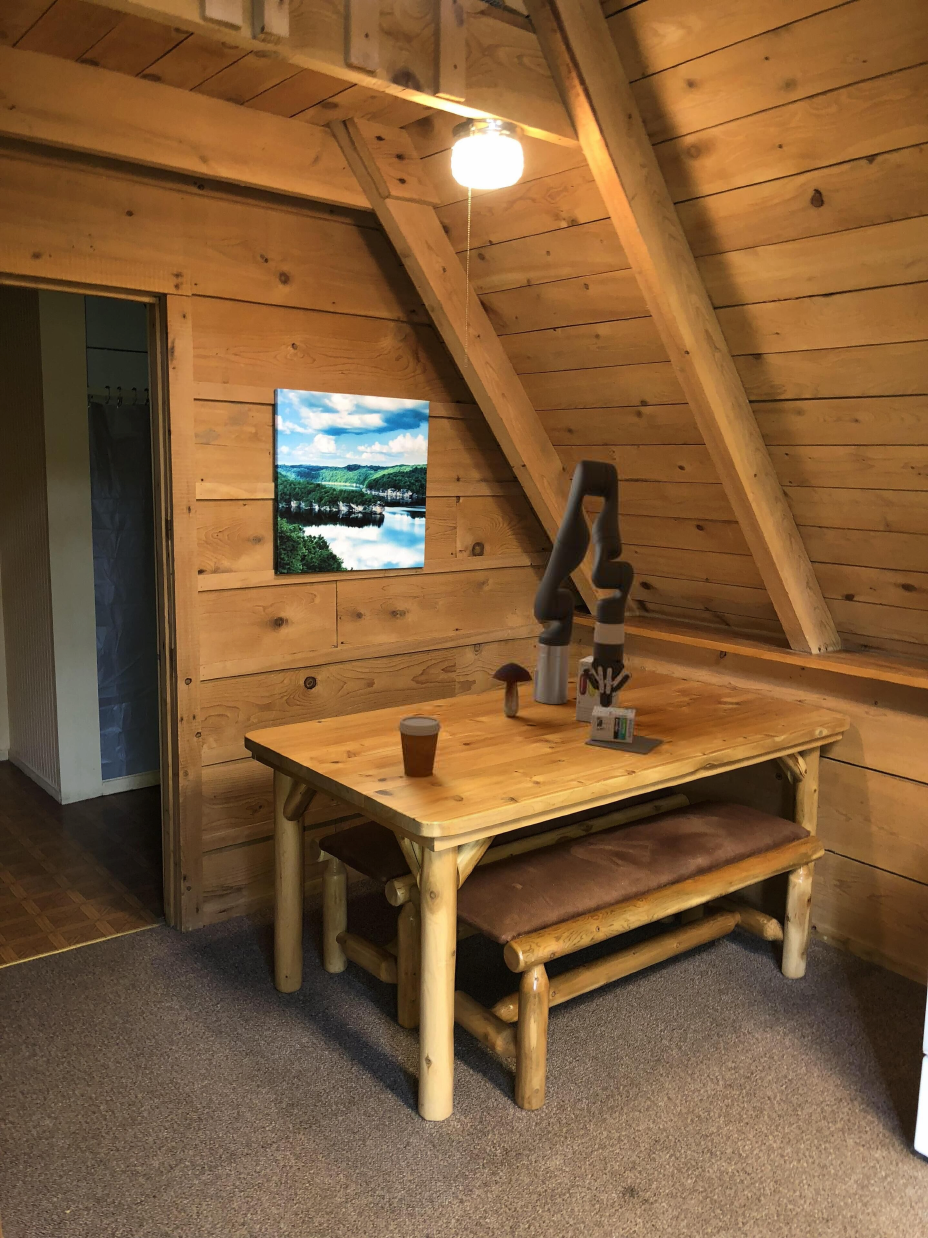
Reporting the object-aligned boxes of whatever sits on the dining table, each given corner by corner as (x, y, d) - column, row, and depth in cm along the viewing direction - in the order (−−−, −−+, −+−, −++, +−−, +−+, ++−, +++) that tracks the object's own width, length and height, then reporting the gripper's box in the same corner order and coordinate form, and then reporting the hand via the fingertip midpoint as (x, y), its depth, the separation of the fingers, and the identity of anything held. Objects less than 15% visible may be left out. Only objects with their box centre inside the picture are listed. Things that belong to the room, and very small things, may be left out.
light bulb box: (589, 740, 252) (632, 744, 250) (591, 714, 251) (634, 718, 249) (592, 729, 262) (634, 733, 260) (594, 704, 261) (636, 708, 259)
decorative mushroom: (486, 712, 278) (488, 659, 276) (523, 710, 281) (525, 658, 279) (497, 722, 268) (499, 667, 266) (536, 720, 271) (538, 666, 269)
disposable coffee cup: (439, 766, 228) (440, 715, 226) (439, 780, 218) (441, 727, 217) (397, 766, 227) (398, 715, 226) (396, 779, 218) (397, 726, 216)
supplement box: (574, 720, 272) (577, 660, 270) (586, 713, 280) (589, 654, 278) (607, 725, 268) (610, 664, 265) (618, 718, 276) (622, 658, 273)
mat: (584, 744, 250) (584, 742, 249) (604, 731, 262) (604, 730, 262) (645, 754, 242) (645, 753, 242) (663, 741, 254) (663, 740, 254)
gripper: (639, 640, 250) (635, 707, 253) (590, 635, 257) (587, 700, 259) (629, 645, 244) (625, 713, 247) (579, 639, 250) (575, 706, 253)
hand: (605, 706), depth 253 cm, fingers closed
